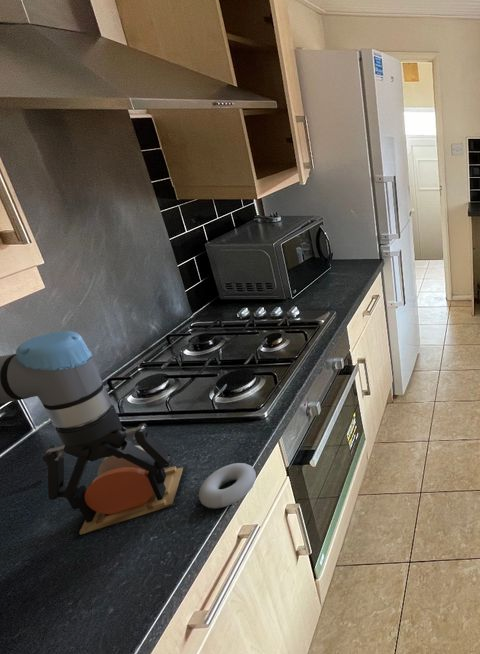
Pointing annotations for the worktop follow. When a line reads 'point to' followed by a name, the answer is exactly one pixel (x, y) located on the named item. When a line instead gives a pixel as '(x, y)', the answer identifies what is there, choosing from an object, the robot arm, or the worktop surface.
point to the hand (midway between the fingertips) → (128, 505)
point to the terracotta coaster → (118, 490)
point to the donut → (224, 497)
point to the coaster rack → (150, 506)
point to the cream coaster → (116, 463)
